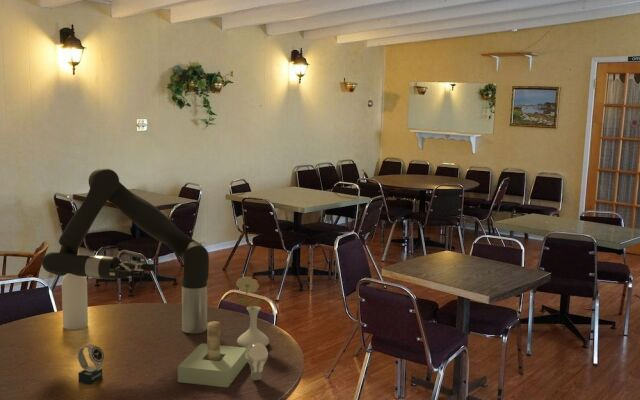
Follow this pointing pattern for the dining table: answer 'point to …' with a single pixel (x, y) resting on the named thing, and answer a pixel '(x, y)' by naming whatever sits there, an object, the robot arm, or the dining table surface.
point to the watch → (90, 373)
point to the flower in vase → (252, 333)
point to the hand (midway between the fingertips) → (148, 270)
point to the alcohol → (74, 301)
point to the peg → (213, 341)
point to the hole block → (212, 366)
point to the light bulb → (256, 359)
